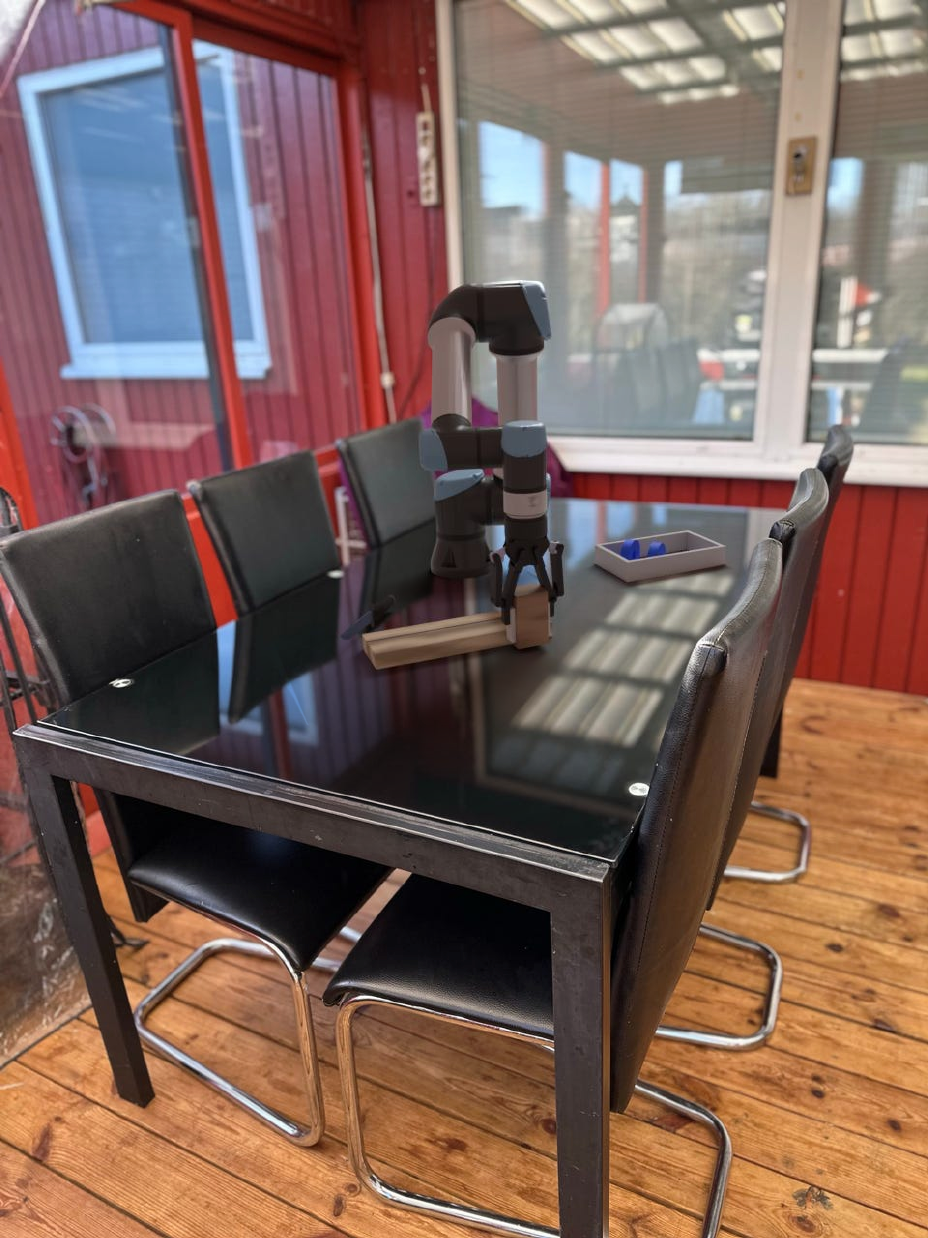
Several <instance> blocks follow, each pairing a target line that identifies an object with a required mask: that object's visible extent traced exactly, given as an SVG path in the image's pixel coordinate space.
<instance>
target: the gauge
mask: <svg viewBox="0 0 928 1238" xmlns="http://www.w3.org/2000/svg"><path fill="white" fill-rule="evenodd" d="M502 592H503V588H502ZM511 606H512V607H514V608H515V622H516V643H512V642H511V641H510V642H511V643H512V644H511V645H513V646H514V647H516V648H517V649H518V650H520V649H526V648H530V647H536V646H541V645H546V644H550V637H549V616H548V591H547V590H546V589H544V588H543V587H542V586H540V583H537V582H533V583H528V584H522V585H517V586H516V590H515V594H514V597H513V601H512V605H511ZM499 608H500V609H501V607H499Z"/></svg>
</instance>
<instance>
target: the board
mask: <svg viewBox="0 0 928 1238" xmlns="http://www.w3.org/2000/svg"><path fill="white" fill-rule="evenodd" d="M550 637H553V622H552V621H551V620H550V636H549V638H550ZM361 639H362V648H363V651H364V653H365V654H366V656H367V657H368V659H369V660H370V661H371V663H372V664H373V666H374V668H375V669H376V670H381V669H387V668H388V669H389V668H392V667H399V666H404V665H409V664H415V663H421V662H424V661H429V660H435V659H436V660H437V659H439V658H446V657H452V656H457V655H462V654H467V653H472V652H477V651H483V650H489V649H493V648H500V647H504V646H509V645H510V646H511V645H513V644H512V643H511V642H510V641H509V640H508V639H507V633H506V625H504V624H503V623H502V621H501V609H500V610H499V609H498V610H493V611H489V612H482V613H476V614H472V615H471V614H470V615H465V616H460V617H459V616H458V617H455V618H454V617H453V618H448V619H443V620H438V621H437V620H436V621H431V622H425V623H420V624H419V623H418V624H414V625H408V626H403V627H397V628H390V629H385V630H380V631H379V630H378V631H375V632H374V631H373V632H368V633H362V634H361Z"/></svg>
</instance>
